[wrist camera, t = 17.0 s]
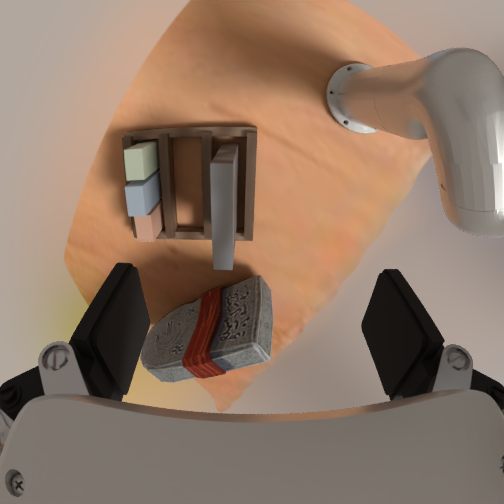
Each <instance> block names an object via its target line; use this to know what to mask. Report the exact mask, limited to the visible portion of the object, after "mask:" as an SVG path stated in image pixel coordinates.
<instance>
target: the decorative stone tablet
mask: <svg viewBox="0 0 504 504" xmlns="http://www.w3.org/2000/svg"><path fill="white" fill-rule="evenodd" d="M272 333H273V307H272V294H271V289H270V288H269V287H268V285H267V284H266V282H265V281H264V279H263V278H262V277H261V275H258V276H254V277H252V278H249V279H247V280H245V281H242V282H240V283H238V284H235V285H233V286H231V287H228V288H226V289H225V288H224V287H223V286H222V287H218V288H215V289H213V290H211V291H209V292H206V293H204V294H203V295H202V297H201V298H199V299H198V300H197V301H195V302H194V303H189V304H185V305H183V306H181V307H179V308H177V309H175V310H174V311H172V312H171V313H169V314H167V315H166V316H165V317H164V318H163V319H161V320H160V321H159V322H158V323H157V324H155V325H154V326H153V327H152V328H151V330H150V332H149V333H148V335H147V337H146V338H145V341H144V344H143V347H142V351H141V361H142V364H143V367H144V368H146V369H147V371H149V372H150V373H151V374H152V375H154V376H155V377H156V378H158V379H159V380H160V381H161V382H173V383H174V382H179V381H183V380H188V379H193V378H208V377H213V376H218V375H223V374H225V373H226V371H230V370H234V369H239V368H244V367H248V366H253V365H257V364H261V363H265V362H268V361H269V360H270V358H271V345H272Z"/></svg>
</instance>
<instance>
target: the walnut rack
mask: <svg viewBox="0 0 504 504" xmlns="http://www.w3.org/2000/svg"><path fill="white" fill-rule="evenodd" d="M200 136H202V190H203V218H204V227H178V224H177V212H176V199H175V184H174V165H173V139H172V138H174V137H200ZM214 136H243V137H247V156H246V189H245V226H244V228H236V238H235V240H236V241H253V221H254V197H255V173H256V148H257V127H250V126H198V127H175V128H160V129H148V130H138V131H129V132H126V133H125V137H124V138H122V141H123V155H124V150H125V149H127V148H129V147H132V146H134V145H136V144H137V140H145V139H158V138H159V158H160V174H161V188H162V199H163V210H164V220H165V227H163V228H162V230H161V231H160V233H159V234H158V236H157V238H156V239H192V240H212V219H211V180H210V163H211V161H212V160H213V158H214ZM124 166H125V158H124ZM125 176H126V169H125ZM132 181H133V180H129V181H127V179H126V185H128V184H129V183H130V182H132ZM131 222H132V228H133V234H134V237H135V238H136V239H138V238H137V233H136V226H135V220H134V216H131Z"/></svg>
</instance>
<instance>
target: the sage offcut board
mask: <svg viewBox="0 0 504 504" xmlns="http://www.w3.org/2000/svg"><path fill="white" fill-rule="evenodd" d="M124 158H125V169H126V179H127V181H129V180H145V179H146V178H147V177H148V176H150V175H151V174H152V173H153V172H155V171H156V170H157V169H158V168H160V158H159V140H158V141H145V142H141V143H138V144H136V145H134V146H132V147H129V148H127V149H125V150H124Z"/></svg>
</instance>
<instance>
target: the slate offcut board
mask: <svg viewBox="0 0 504 504" xmlns="http://www.w3.org/2000/svg"><path fill="white" fill-rule="evenodd" d="M125 194H126V202H127V209H128V216H147V214H148V213H149V212H150V211H151V209H152V208H153V207H154V206H155V205H156V203H157V202H158V201H159V200H160V198H161V197H162V188H161V174H160V171H155V172H153V173H152V174H151V175H150V176H148V177H147V178H146V179H145V180H133V181H132V182H130V183H129V184H128V185H127V186H125Z"/></svg>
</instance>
